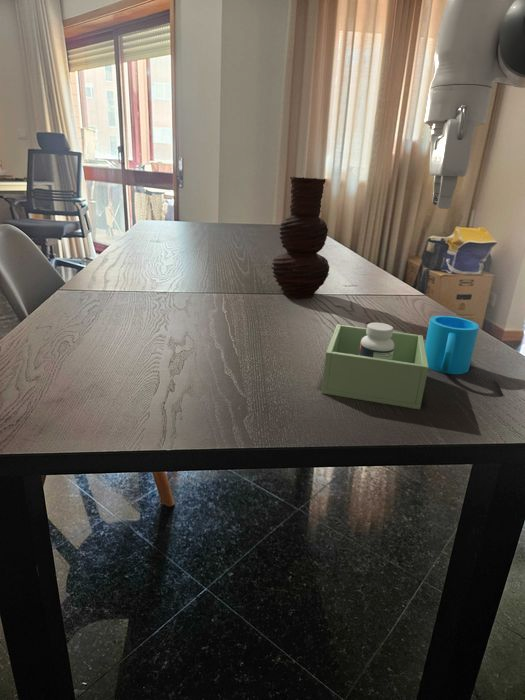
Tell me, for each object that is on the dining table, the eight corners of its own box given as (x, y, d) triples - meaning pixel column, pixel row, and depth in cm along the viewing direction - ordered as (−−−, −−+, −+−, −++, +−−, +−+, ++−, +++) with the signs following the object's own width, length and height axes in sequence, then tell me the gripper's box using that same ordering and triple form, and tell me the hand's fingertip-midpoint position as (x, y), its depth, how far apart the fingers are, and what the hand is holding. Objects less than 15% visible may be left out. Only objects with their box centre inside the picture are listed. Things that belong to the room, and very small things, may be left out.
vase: (275, 285, 136) (282, 175, 125) (328, 291, 133) (340, 179, 122) (264, 298, 122) (272, 176, 111) (323, 305, 119) (337, 180, 108)
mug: (423, 353, 91) (431, 313, 88) (468, 361, 88) (478, 320, 85) (417, 375, 80) (426, 330, 77) (468, 386, 77) (479, 340, 74)
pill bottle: (352, 370, 79) (358, 320, 75) (381, 371, 79) (389, 321, 76) (361, 384, 74) (369, 331, 71) (393, 384, 74) (402, 331, 71)
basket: (415, 371, 82) (422, 335, 79) (420, 409, 69) (428, 367, 66) (332, 359, 85) (336, 324, 83) (321, 393, 72) (326, 352, 69)
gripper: (492, 102, 61) (471, 212, 66) (468, 119, 79) (452, 204, 84) (441, 101, 62) (424, 209, 67) (429, 118, 81) (416, 202, 86)
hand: (440, 206), depth 76 cm, fingers open, 8 cm apart
